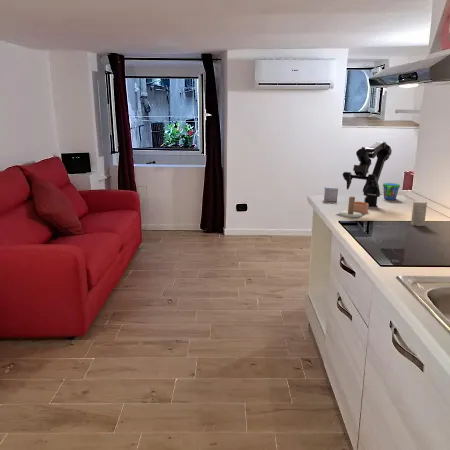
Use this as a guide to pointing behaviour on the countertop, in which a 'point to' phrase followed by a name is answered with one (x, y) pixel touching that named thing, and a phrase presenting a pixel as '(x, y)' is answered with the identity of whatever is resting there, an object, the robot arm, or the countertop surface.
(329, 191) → the medicine box
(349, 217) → the mat
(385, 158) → the robot arm
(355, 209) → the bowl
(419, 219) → the skincare box
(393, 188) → the snack cup
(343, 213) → the lid
